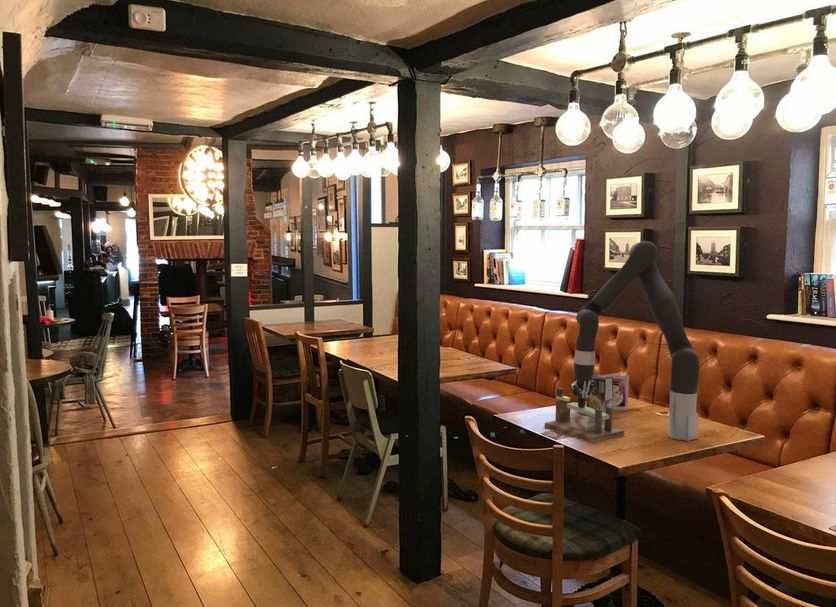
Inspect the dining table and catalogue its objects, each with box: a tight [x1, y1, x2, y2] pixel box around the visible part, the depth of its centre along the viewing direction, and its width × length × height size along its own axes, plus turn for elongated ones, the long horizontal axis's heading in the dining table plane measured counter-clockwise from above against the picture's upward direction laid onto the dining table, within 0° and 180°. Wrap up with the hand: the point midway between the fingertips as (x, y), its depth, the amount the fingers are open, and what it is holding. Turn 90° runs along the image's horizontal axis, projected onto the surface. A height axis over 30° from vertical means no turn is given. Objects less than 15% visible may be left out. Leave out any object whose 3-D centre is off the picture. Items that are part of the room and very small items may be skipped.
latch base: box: [544, 399, 625, 444], centre depth 252 cm, size 24×17×11 cm
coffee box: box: [585, 374, 613, 413], centre depth 277 cm, size 9×6×16 cm
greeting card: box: [601, 372, 630, 411], centre depth 288 cm, size 11×7×15 cm, turn 86°
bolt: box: [555, 387, 571, 401], centre depth 260 cm, size 6×2×4 cm, turn 36°
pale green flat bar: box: [567, 402, 609, 421], centre depth 250 cm, size 17×4×2 cm, turn 36°
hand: (581, 407), depth 252 cm, fingers closed
